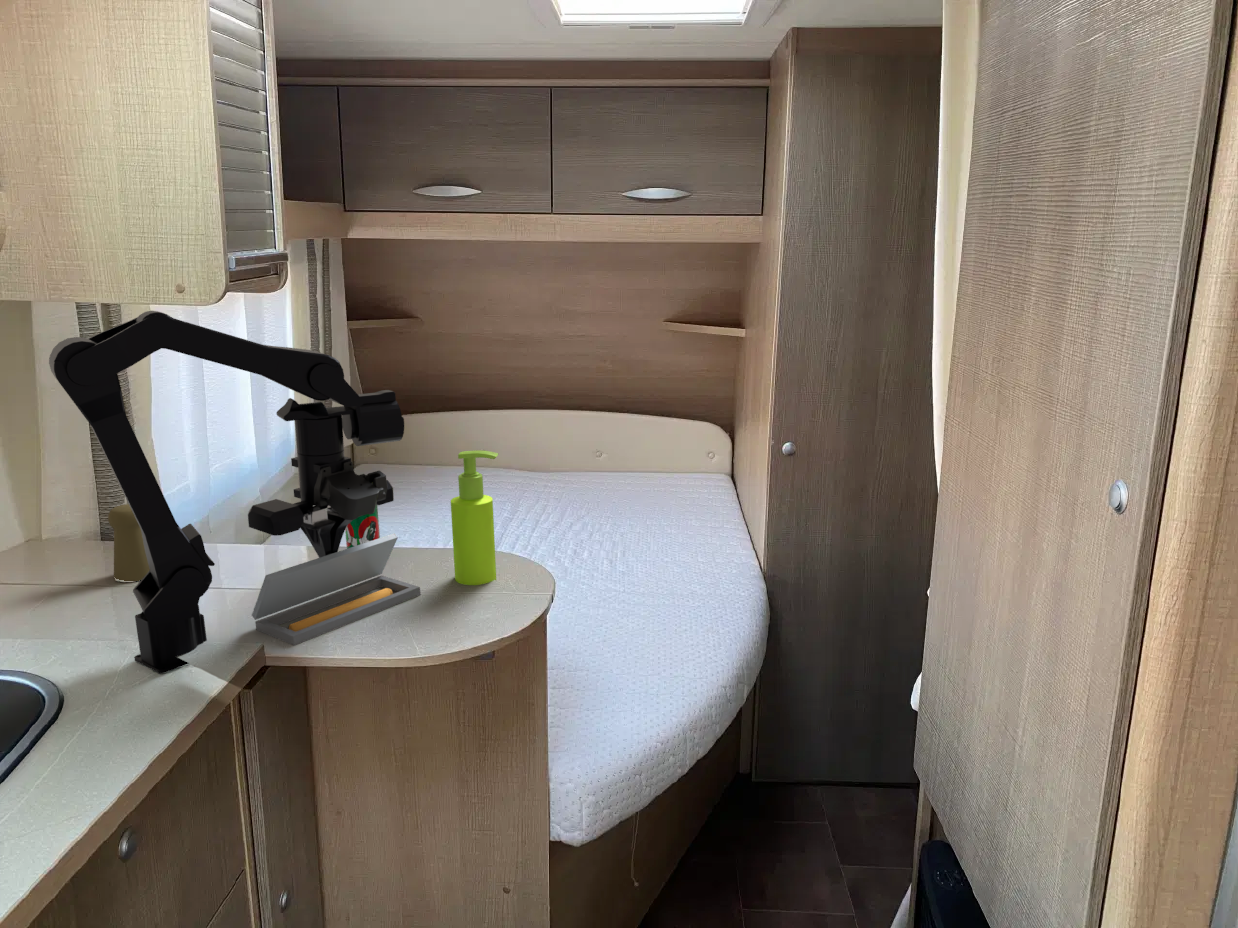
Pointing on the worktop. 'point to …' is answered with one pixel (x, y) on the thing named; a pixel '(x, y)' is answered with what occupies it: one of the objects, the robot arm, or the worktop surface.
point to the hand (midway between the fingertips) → (328, 565)
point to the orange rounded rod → (340, 610)
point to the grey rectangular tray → (272, 622)
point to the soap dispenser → (473, 525)
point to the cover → (322, 576)
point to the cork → (127, 545)
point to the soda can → (363, 529)
